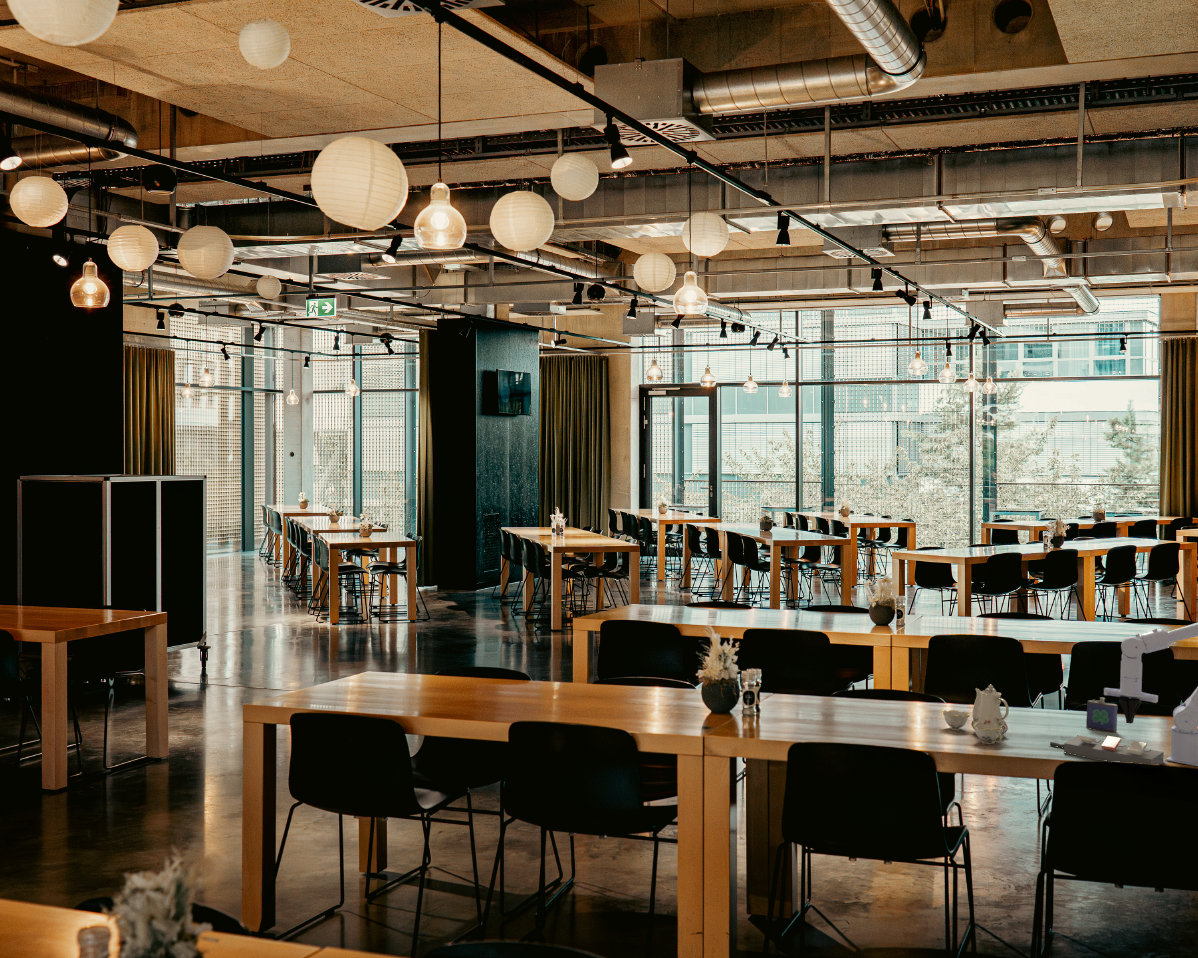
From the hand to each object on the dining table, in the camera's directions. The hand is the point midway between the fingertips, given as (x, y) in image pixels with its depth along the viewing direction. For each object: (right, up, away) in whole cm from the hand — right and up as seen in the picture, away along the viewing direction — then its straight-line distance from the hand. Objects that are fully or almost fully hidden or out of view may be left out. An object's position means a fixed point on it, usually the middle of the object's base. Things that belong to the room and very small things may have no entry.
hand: (1129, 722), depth 321 cm
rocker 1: (-14, -6, -1) cm, 15 cm away
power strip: (-9, -9, -2) cm, 13 cm away
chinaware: (-38, -9, +19) cm, 43 cm away
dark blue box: (+6, -9, +30) cm, 32 cm away
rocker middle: (-8, -6, -6) cm, 11 cm away
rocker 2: (-3, -6, -11) cm, 12 cm away
